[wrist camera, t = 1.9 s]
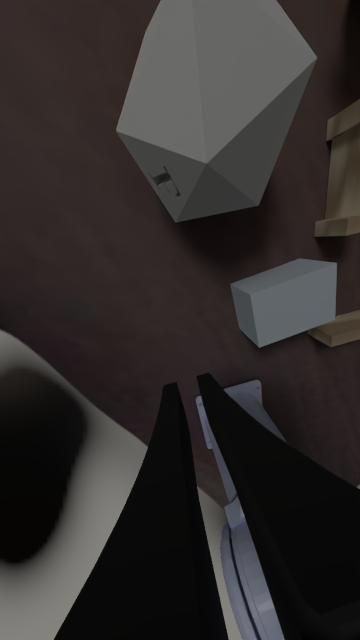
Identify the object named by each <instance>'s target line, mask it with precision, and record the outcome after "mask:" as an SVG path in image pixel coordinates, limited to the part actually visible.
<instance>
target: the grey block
mask: <svg viewBox="0 0 360 640" xmlns="http://www.w3.org/2000/svg"><path fill="white" fill-rule="evenodd" d="M336 276H337V263H333V262H324V261H316V260H307V259H298V260H295V261H292V262H289V263H287V264H284V265H281V266H278V267H276V268H273V269H270V270H267V271H265V272H262V273H259V274H256V275H254V276H251V277H248V278H245V279H243V280H240V281H237V282H234V283H232V284H230V286H231V290H232V295H233V300H234V304H235V309H236V314H237V319H238V323H239V328H240V330H241V331H242V332H243V333H244V334H245V335H246V336H247V337H249V338H250V339H251V340H252V341H253V342H254V343H255V344H256V345H257V346H258V347H259V348H260V347H263V346H265V345H268V344H271V343H274V342H276V341H279V340H282V339H284V338H287V337H290V336H293V335H295V334H298V333H301V332H303V331H306V330H309V329H312V328H314V327H317V326H320V325H322V324H325V323H328V322H331V321H333V320H335V305H336Z"/></svg>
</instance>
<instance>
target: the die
mask: <svg viewBox="0 0 360 640" xmlns="http://www.w3.org/2000/svg"><path fill="white" fill-rule="evenodd" d="M316 60H317V57H316V55H315V54H314V52H313V51H312V50H311V48H310V47H309V45H308V44H307V43H306V41H305V40H304V38H303V37H302V36H301V34H300V33H299V31H298V30H297V29H296V27H295V26H294V24H293V23H292V22H291V20H290V19H289V17H288V16H287V15H286V13H285V12H284V10H283V9H282V8H281V6H280V5H279V3H278V2H277V1H276V0H161V1H160V3H159V5H158V7H157V9H156V12H155V14H154V16H153V18H152V20H151V22H150V24H149V26H148V28H147V30H146V32H145V36H144V39H143V42H142V46H141V49H140V52H139V56H138V59H137V62H136V66H135V69H134V72H133V76H132V79H131V82H130V86H129V89H128V92H127V96H126V99H125V102H124V106H123V109H122V112H121V116H120V119H119V122H118V126H117V129H116V132H117V133H118V135H119V136H120V138H121V139H122V141H123V143H124V144H125V146H126V147H127V149H128V150H129V152H130V153H131V155H132V156H133V158H134V159H135V161H136V163H137V164H138V166H139V167H140V169H141V170H142V172H143V173H144V175H145V176H146V178H147V179H148V181H149V183H150V184H151V186H152V187H153V189H154V190H155V192H156V193H157V195H158V196H159V198H160V199H161V201H162V203H163V204H164V206H165V207H166V209H167V210H168V212H169V213H170V215H171V216H172V218H173V219H174V221H175V223H176V222H181V221H186V220H190V219H195V218H200V217H205V216H210V215H215V214H220V213H225V212H230V211H235V210H240V209H245V208H250V207H254V206H259V203H260V201H261V198H262V196H263V193H264V191H265V188H266V186H267V183H268V181H269V178H270V176H271V173H272V171H273V168H274V166H275V163H276V161H277V158H278V155H279V153H280V150H281V148H282V145H283V143H284V140H285V138H286V135H287V133H288V130H289V128H290V125H291V123H292V120H293V118H294V115H295V113H296V110H297V108H298V105H299V102H300V100H301V97H302V95H303V92H304V90H305V87H306V85H307V82H308V80H309V77H310V75H311V72H312V70H313V67H314V65H315V62H316Z"/></svg>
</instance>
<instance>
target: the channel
mask: <svg viewBox="0 0 360 640" xmlns="http://www.w3.org/2000/svg"><path fill="white" fill-rule="evenodd" d="M330 140H332V146H331V157H330V168H329V179H328V191H327V202H326V213H325V220H322V221H318V222H315V234H314V237H319V236H347V235H351V234H355V233H359V232H360V99H359V100H357V101H356V102H354V103H353V104H351V105H350V106H348V107H347V108H346V109H344V110H343V111H341V112H340V113H338V114H337V115H335V116H334V117H332V118H331V119H329V120H328V123H327V135H326V141H330ZM307 334H309V335H311V336H312V337H314V338H316V339H317V340H319V341H321V342H323V343H324V344H326V345H328V346H329V347H333V346H337V345H341V344H344V343H348V342H351V341H355V340H358V339H360V310H358V311H354V312H350V313H347V314H343V315H339V316H336V317H335V320H333V321H331V322H328V323H325V324H322V325H320V326H317V327H314V328H312V329H309V330H307Z"/></svg>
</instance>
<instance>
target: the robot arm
mask: <svg viewBox="0 0 360 640" xmlns="http://www.w3.org/2000/svg"><path fill="white" fill-rule="evenodd" d="M197 381H198V385H199V389H200V394H201V396H198V397H197V398H196V404H197V408H198V412H199V416H200V420H201V424H202V428H203V432H204V436H205V440H206V444H207V447H208V448H209V449H212V448H213V451H214V454H215V458H216V461H217V464H218V467H219V471H220V474H221V477H222V480H223V483H224V487H225V490H226V493H227V496H228V500H229V503H230V504H229V505H227V506H225V511H226V515H227V518H228V523H226V524H225V525H224V526H223V530H222V539H221V547H220V550H221V562H222V568H223V574H224V579H225V583H226V588H227V592H228V596H229V600H230V604H231V607H232V610H233V613H234V617H235V620H236V623H237V626H238V629H239V631H240V634H241V636H242V639H243V640H360V489H358V488H356V487H355V486H353V485H351V484H350V483H348V482H346V481H345V480H343V479H341V478H340V477H338V476H336V475H335V474H333V473H331V472H330V471H328V470H326V469H325V468H323V467H322V466H320V465H319V464H317V463H316V462H314V461H313V460H311V459H310V458H308V457H307V456H305V455H303V454H302V453H300V452H299V451H297V450H296V449H294V448H293V447H291V446H290V445H289V444H288V443H287V442H286V440H285V439H284V437H283V436H282V434H281V433H280V431H279V430H278V428H277V427H276V426H275V424H274V423H273V421H272V420H271V418H270V417H269V415H268V414H267V412H266V411H265V410H264V408H263V407H262V390H261V382H260V381H259V380H253V381H250V382H246V383H243V384H239V385H236V386H232V387H229V388H226V389H223V388H222V387H221V386H220V385H219V384H218V383H217V382H216V380H215V379H214V378H213V377H212V375H211V374H209V373H207V374H203V375H199V376H197ZM200 403H201V404H200ZM54 640H229V639H228V635H227V630H226V625H225V621H224V616H223V611H222V607H221V602H220V597H219V593H218V588H217V583H216V578H215V574H214V569H213V564H212V559H211V555H210V550H209V546H208V541H207V536H206V531H205V526H204V521H203V517H202V511H201V507H200V502H199V496H198V490H197V484H196V476H195V469H194V461H193V454H192V446H191V439H190V432H189V427H188V423H187V418H186V414H185V410H184V406H183V403H182V400H181V396H180V393H179V389H178V386H177V382H175V383H171V384H168V385H164V387H163V391H162V398H161V403H160V408H159V412H158V416H157V420H156V424H155V427H154V431H153V434H152V437H151V440H150V443H149V446H148V449H147V452H146V455H145V458H144V460H143V463H142V466H141V468H140V471H139V473H138V476H137V478H136V481H135V483H134V485H133V488H132V490H131V492H130V495H129V497H128V499H127V501H126V504H125V506H124V508H123V510H122V512H121V514H120V517H119V519H118V521H117V523H116V525H115V527H114V528H113V531H112V533H111V534H110V536H109V538H108V541H107V542H106V545H105V547H104V548H103V550H102V552H101V554H100V557H99V558H98V560H97V562H96V564H95V566H94V568H93V570H92V572H91V574H90V575H89V577H88V579H87V581H86V583H85V584H84V586H83V588H82V590H81V591H80V593H79V595H78V597H77V599H76V600H75V602H74V604H73V606H72V608H71V610H70V612H69V613H68V615H67V617H66V618H65V620H64V622H63V624H62V626H61V627H60V629H59V631H58V633H57V635H56V637H55V638H54Z"/></svg>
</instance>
